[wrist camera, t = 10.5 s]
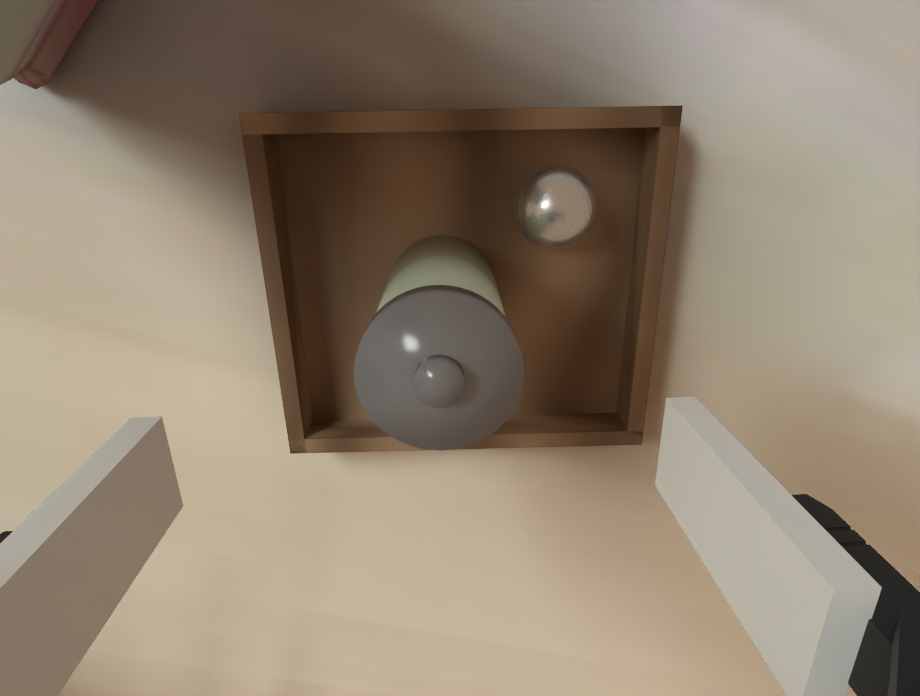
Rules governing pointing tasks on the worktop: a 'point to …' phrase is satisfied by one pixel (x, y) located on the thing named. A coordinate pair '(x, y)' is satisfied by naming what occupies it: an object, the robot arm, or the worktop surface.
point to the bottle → (37, 37)
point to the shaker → (439, 350)
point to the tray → (479, 223)
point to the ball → (555, 206)
